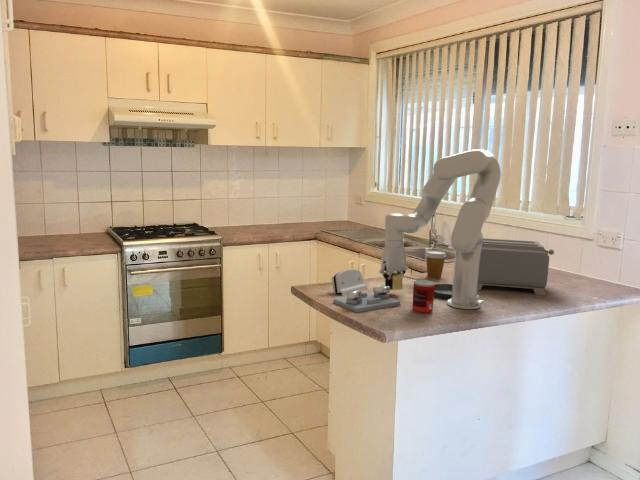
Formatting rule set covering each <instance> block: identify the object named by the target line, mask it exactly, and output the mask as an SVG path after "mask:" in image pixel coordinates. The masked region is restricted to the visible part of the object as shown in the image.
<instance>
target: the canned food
mask: <svg viewBox="0 0 640 480" xmlns="http://www.w3.org/2000/svg"><path fill="white" fill-rule="evenodd" d="M435 284H436V283H435V282H434V281H432V280H428V279H420V280H414V281H413V291H412V308H411V309H412V311H413V312H414V313H418V314H423V315H424V314H431V313H432V312H433V310H434V301H435V300H434V299H435V296H434V288H435Z"/></svg>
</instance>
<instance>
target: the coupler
mask: <svg viewBox="0 0 640 480" xmlns="http://www.w3.org/2000/svg"><path fill="white" fill-rule="evenodd" d="M403 278H404V277H403V275H401V274H398V273H396V272H392V274H391V278H390V279H391V280H392V286H391V289H390V291H393V292H395V291H399V290H403Z"/></svg>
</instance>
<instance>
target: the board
mask: <svg viewBox="0 0 640 480" xmlns="http://www.w3.org/2000/svg"><path fill="white" fill-rule="evenodd" d="M361 293H362V295H361V297H359V298H361V299H362V303H361V304H358V305H353V304H348V303H346V299H347V296H342V297H335V298H332V299H333V302H332V303H334V304H336V305H339V306H341V307H343V308H345V309H348V310H350V311H352V312H354V313H362V312H370V311H375V310H380V309H387V308H392V307H396V306H397V307H398V306H401V302H402V301H401V300H398V299H395V298H393V297H390V296H389V299H382V300H381V298H375V297H374V292H370V293H368V292H361Z"/></svg>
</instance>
